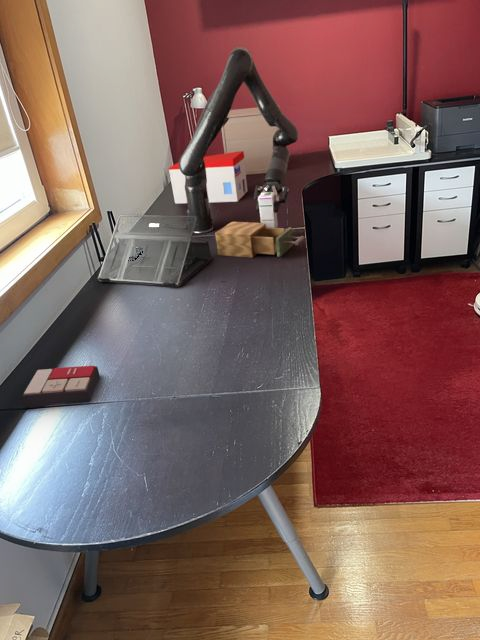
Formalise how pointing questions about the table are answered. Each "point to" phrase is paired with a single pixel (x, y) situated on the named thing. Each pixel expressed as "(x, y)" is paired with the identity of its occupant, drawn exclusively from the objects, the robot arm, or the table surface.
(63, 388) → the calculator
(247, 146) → the cabinet
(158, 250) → the laptop stand
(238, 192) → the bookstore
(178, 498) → the table surface
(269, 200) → the syrup box
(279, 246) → the drawer
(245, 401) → the table surface
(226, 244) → the cabinet
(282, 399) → the table surface
